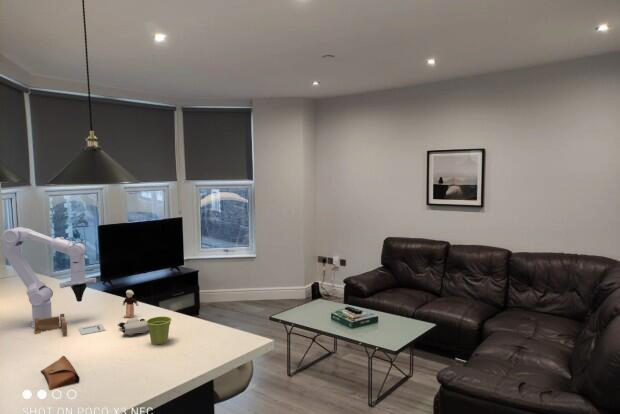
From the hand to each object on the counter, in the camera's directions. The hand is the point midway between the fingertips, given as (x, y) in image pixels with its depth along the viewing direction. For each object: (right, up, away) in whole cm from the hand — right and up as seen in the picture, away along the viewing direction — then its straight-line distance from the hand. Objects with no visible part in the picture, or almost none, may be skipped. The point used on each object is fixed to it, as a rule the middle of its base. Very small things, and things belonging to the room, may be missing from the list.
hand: (79, 301), depth 191 cm
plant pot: (+44, -11, -23) cm, 51 cm away
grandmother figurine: (+20, -9, +7) cm, 23 cm away
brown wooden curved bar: (0, -9, -11) cm, 15 cm away
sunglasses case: (+21, -14, -52) cm, 57 cm away
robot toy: (+29, -11, -11) cm, 33 cm away
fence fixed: (-7, -10, -9) cm, 15 cm away
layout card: (+10, -10, -9) cm, 17 cm away
